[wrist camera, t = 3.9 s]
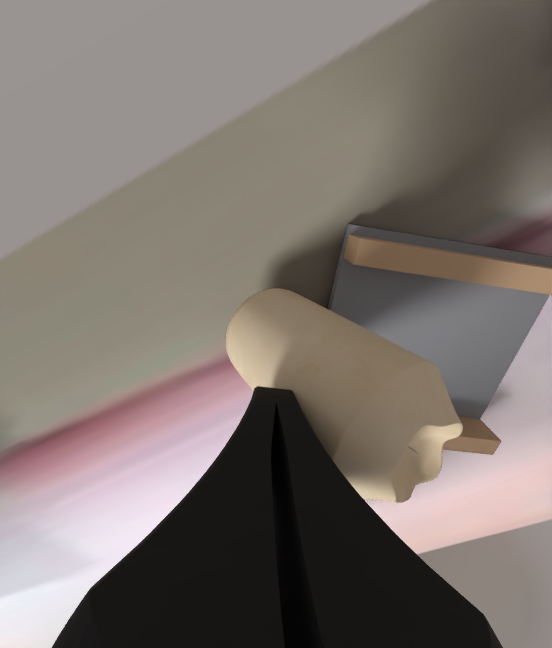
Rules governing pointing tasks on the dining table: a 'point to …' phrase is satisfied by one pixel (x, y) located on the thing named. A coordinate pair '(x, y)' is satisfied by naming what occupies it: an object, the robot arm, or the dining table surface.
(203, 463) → the dining table surface
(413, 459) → the candle
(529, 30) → the dining table surface
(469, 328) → the tray
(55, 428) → the dining table surface
